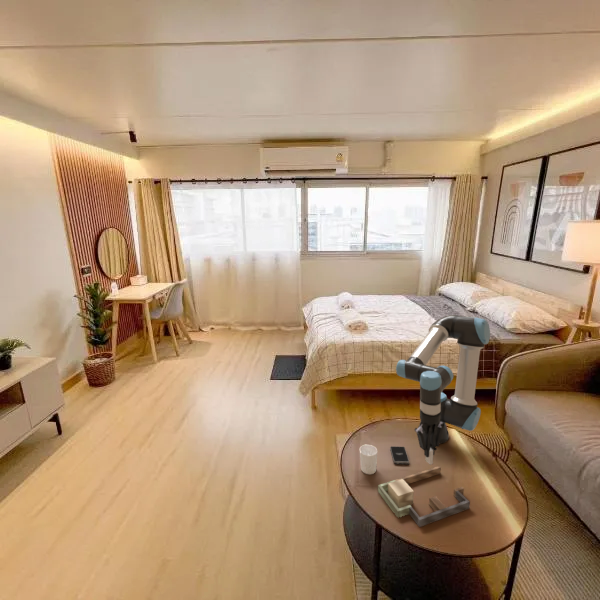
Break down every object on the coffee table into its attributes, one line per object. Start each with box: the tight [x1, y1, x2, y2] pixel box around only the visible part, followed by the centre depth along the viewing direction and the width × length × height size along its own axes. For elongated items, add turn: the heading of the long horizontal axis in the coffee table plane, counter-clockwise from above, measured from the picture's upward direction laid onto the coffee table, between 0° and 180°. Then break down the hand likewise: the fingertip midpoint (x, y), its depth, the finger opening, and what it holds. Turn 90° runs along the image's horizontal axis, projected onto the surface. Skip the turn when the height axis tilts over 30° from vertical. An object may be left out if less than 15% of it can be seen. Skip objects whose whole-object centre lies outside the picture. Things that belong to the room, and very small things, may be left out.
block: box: [387, 479, 415, 508], centre depth 131 cm, size 7×7×6 cm
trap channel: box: [377, 465, 471, 528], centre depth 131 cm, size 31×20×3 cm, turn 108°
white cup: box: [359, 444, 378, 475], centre depth 148 cm, size 8×8×10 cm
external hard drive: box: [389, 445, 410, 466], centre depth 156 cm, size 7×11×2 cm, turn 174°
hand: (429, 462), depth 133 cm, fingers closed
